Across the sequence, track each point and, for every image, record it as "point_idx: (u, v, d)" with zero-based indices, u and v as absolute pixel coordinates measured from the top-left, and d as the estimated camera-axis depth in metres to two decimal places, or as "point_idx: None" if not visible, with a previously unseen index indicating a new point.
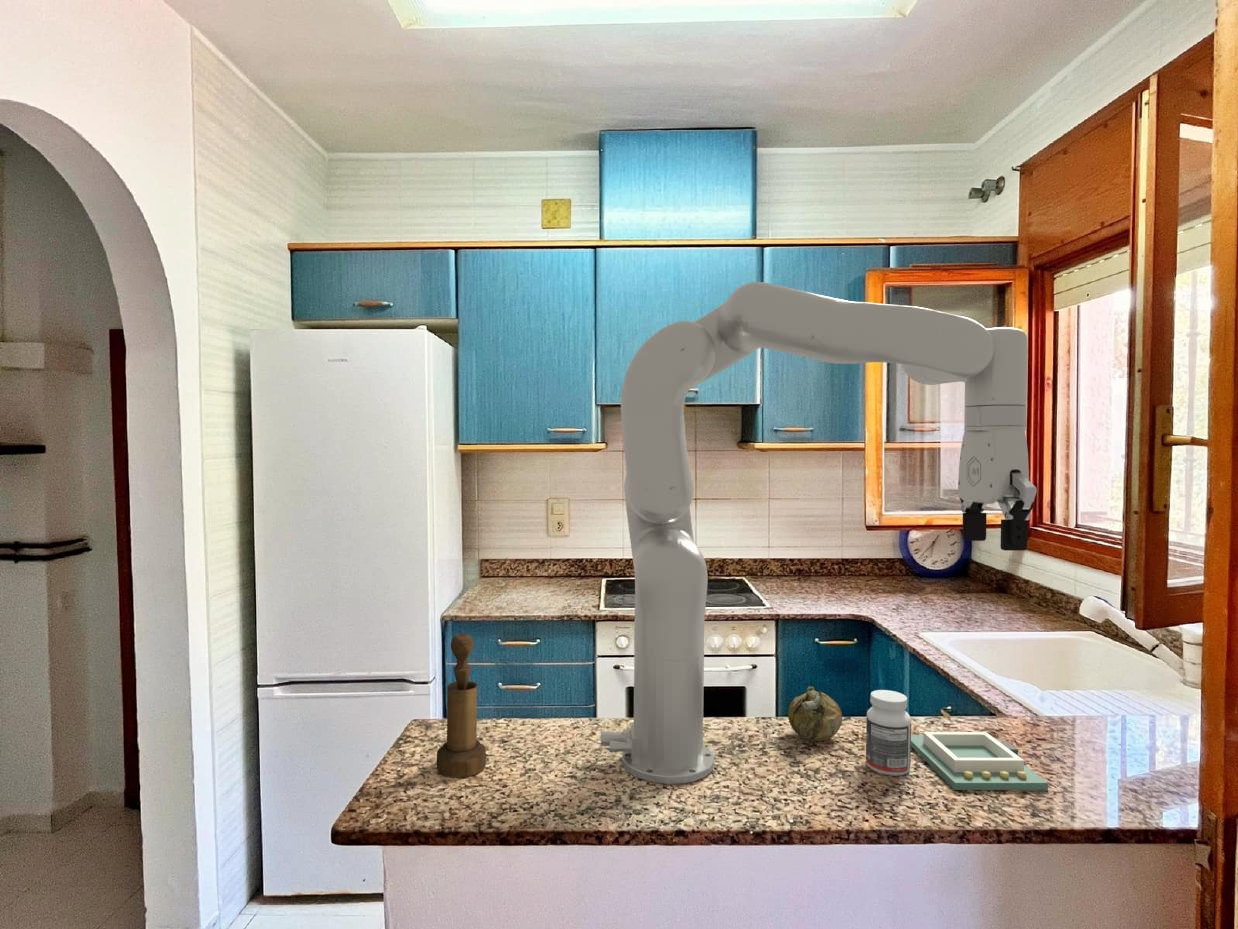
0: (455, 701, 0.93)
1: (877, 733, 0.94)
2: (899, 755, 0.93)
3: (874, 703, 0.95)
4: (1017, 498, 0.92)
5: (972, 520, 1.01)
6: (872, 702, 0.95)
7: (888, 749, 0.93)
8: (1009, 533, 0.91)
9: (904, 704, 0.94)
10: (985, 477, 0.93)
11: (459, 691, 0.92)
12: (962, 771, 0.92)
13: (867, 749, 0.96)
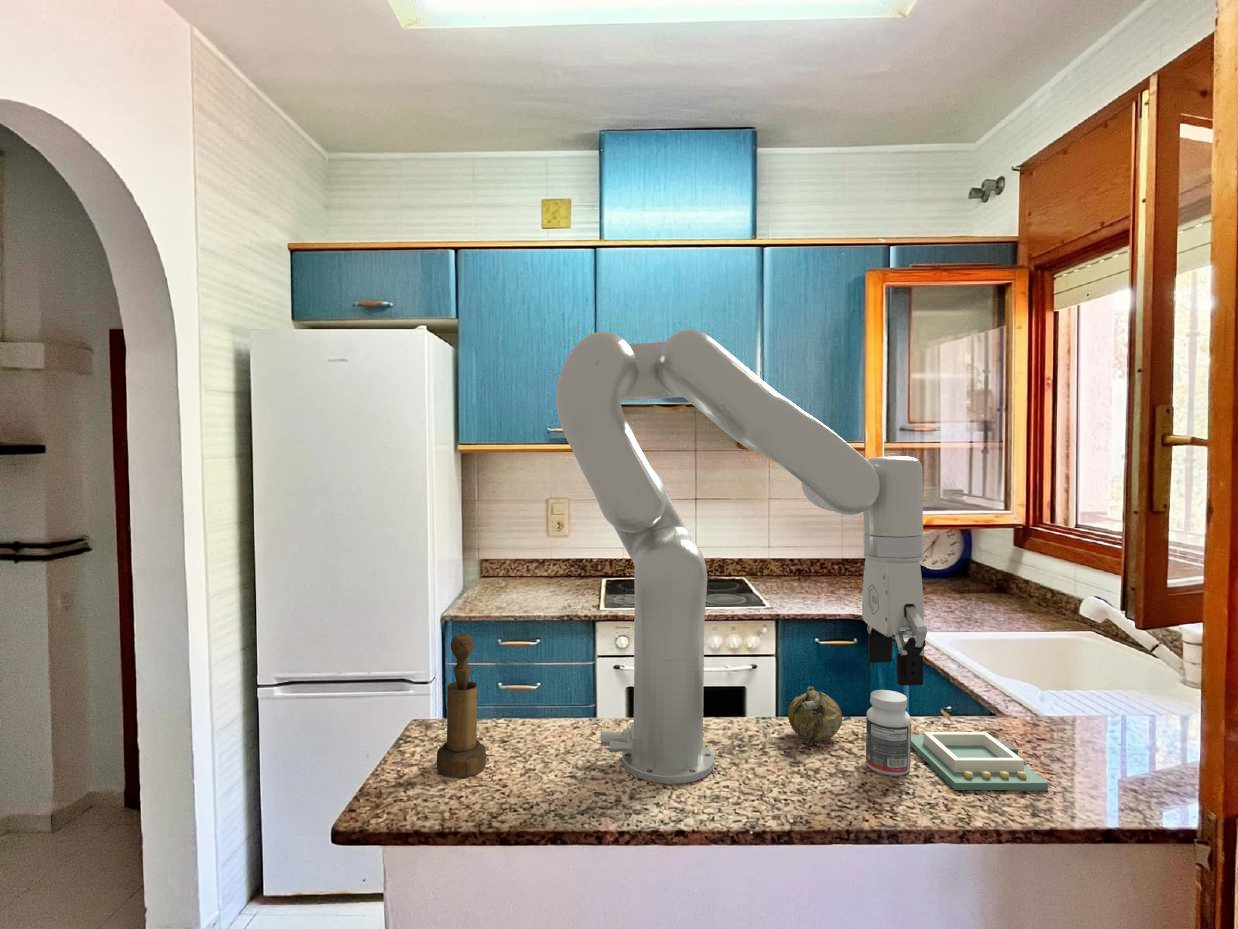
0: (455, 701, 0.93)
1: (877, 733, 0.94)
2: (899, 755, 0.93)
3: (874, 703, 0.95)
4: None
5: (877, 642, 1.00)
6: (872, 702, 0.95)
7: (888, 749, 0.93)
8: (905, 668, 0.90)
9: (904, 704, 0.94)
10: (881, 609, 0.92)
11: (459, 691, 0.92)
12: (962, 771, 0.92)
13: (867, 749, 0.96)
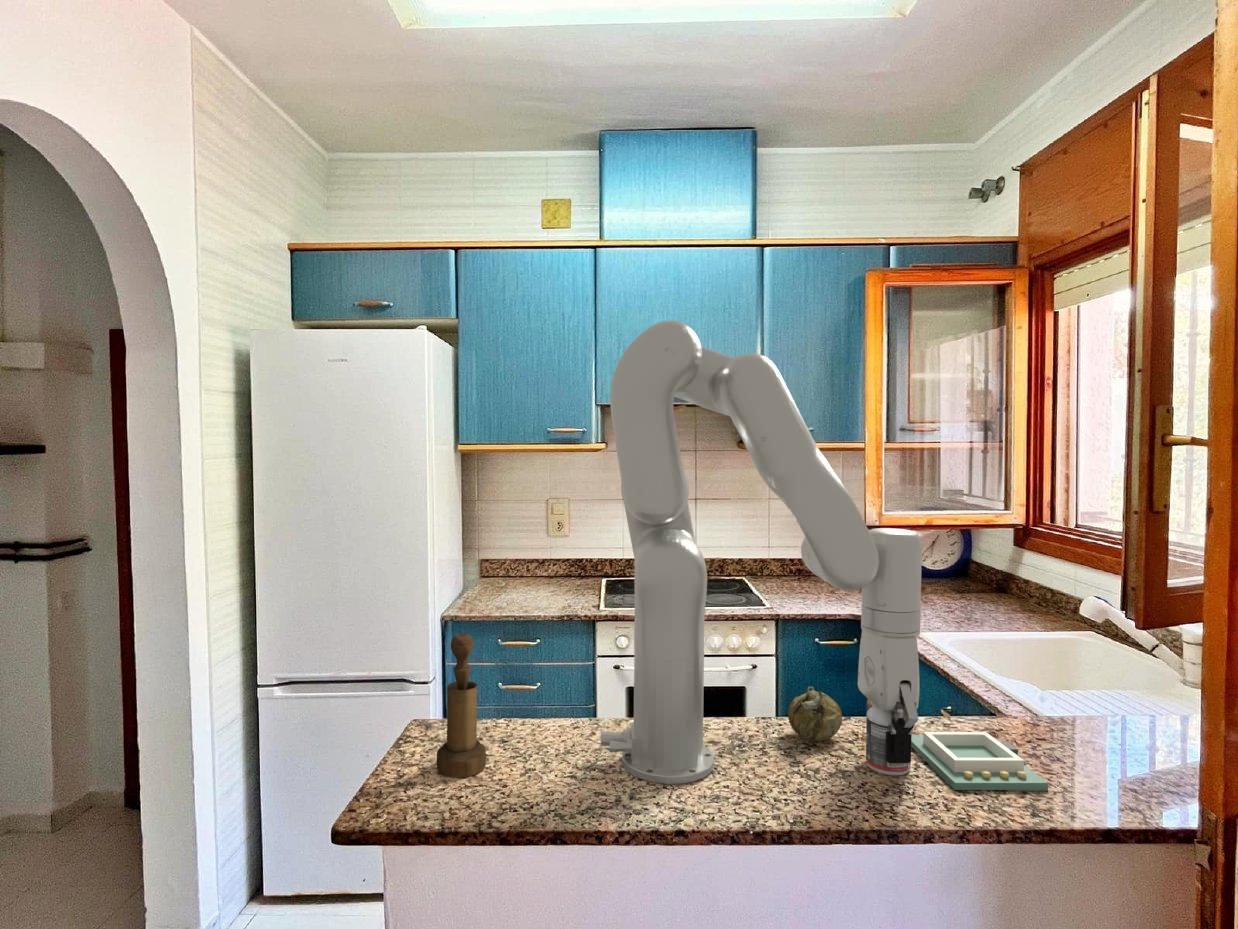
0: (455, 701, 0.93)
1: (877, 732, 0.94)
2: None
3: None
4: None
5: None
6: None
7: None
8: (893, 746, 0.92)
9: None
10: (877, 683, 0.92)
11: (459, 691, 0.92)
12: (962, 771, 0.92)
13: (867, 749, 0.96)
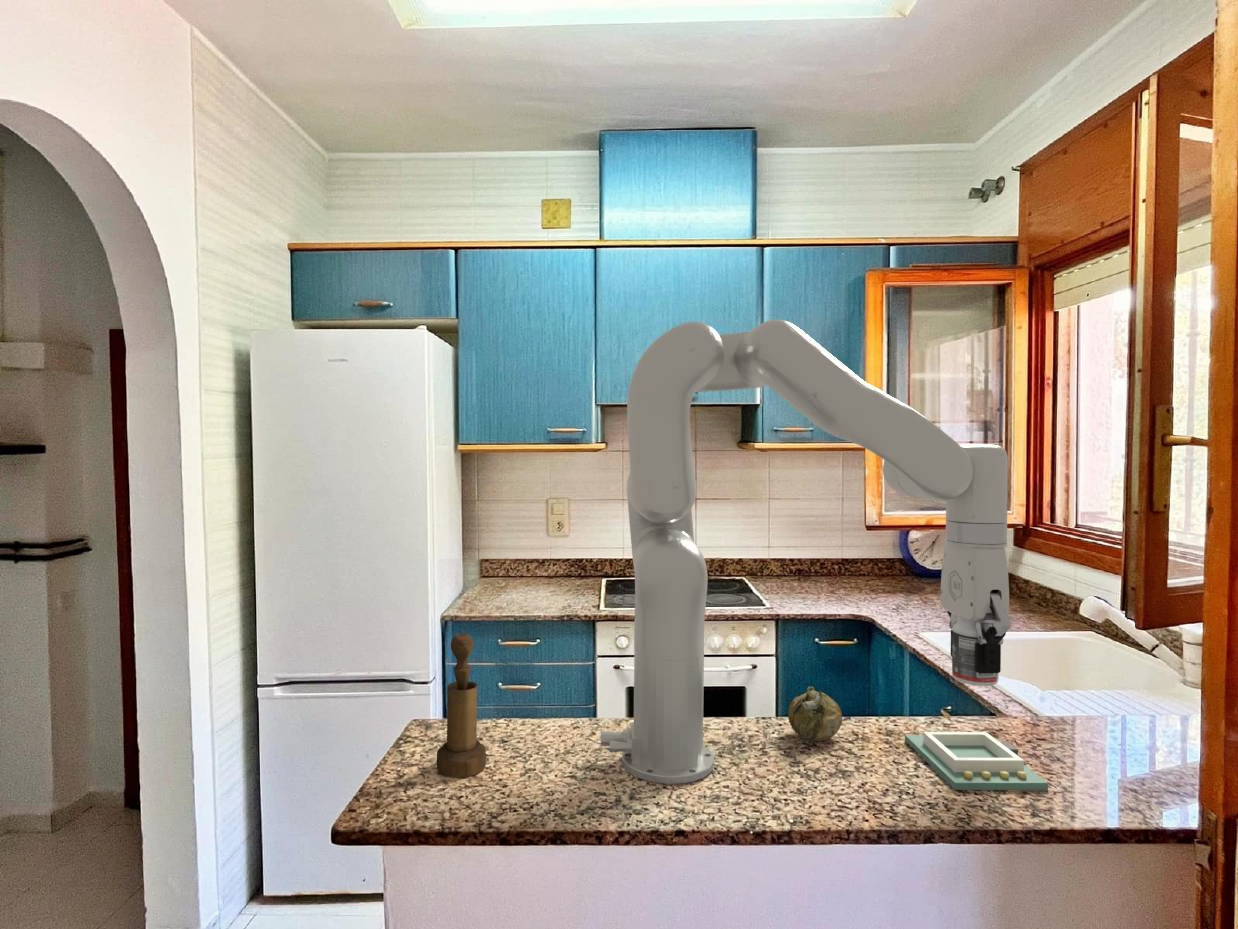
0: (455, 701, 0.93)
1: (965, 644, 0.95)
2: None
3: None
4: (994, 621, 0.93)
5: None
6: None
7: None
8: (983, 656, 0.93)
9: None
10: (966, 594, 0.93)
11: (459, 691, 0.92)
12: (962, 771, 0.92)
13: (954, 662, 0.97)
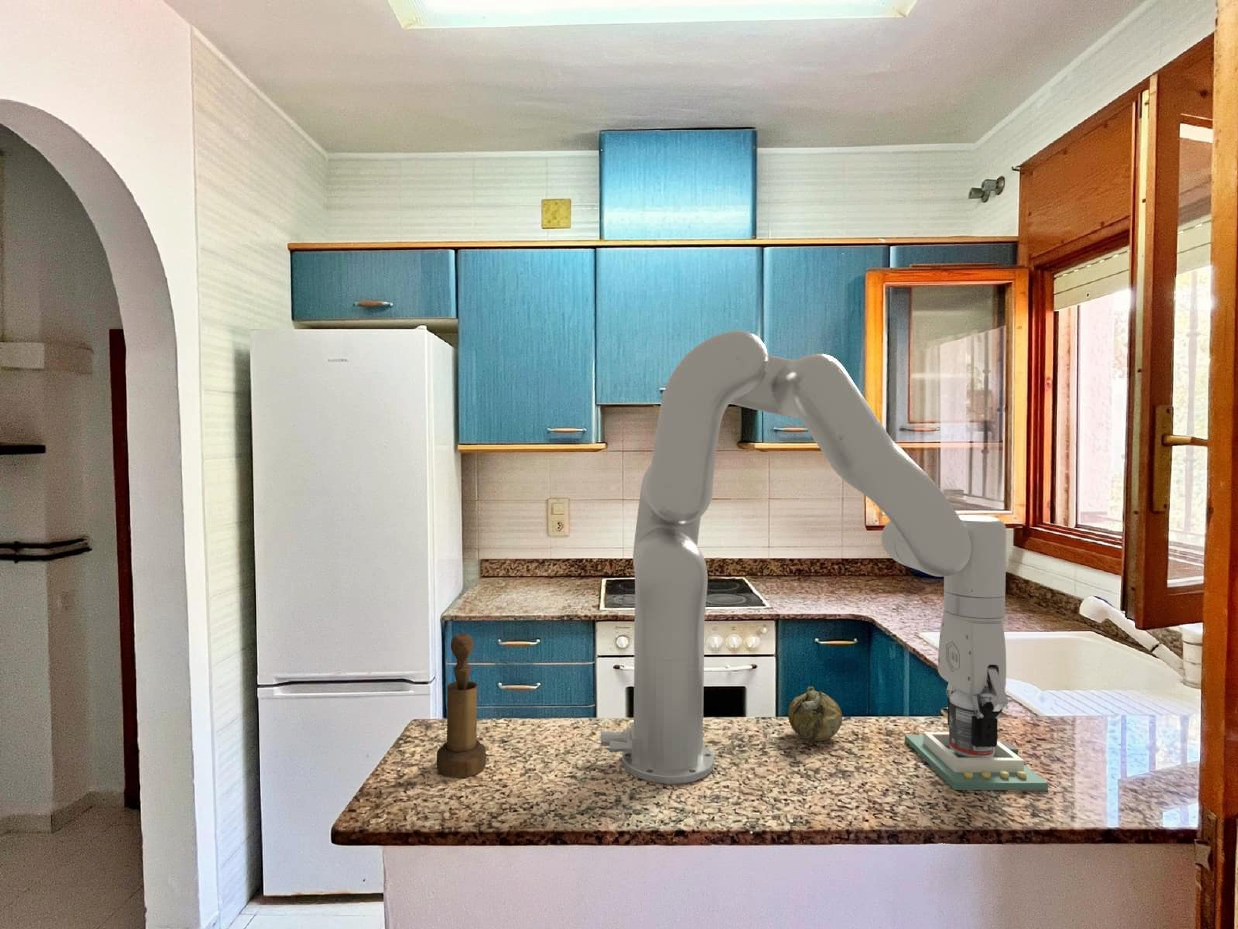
0: (455, 701, 0.93)
1: (962, 716, 0.95)
2: None
3: None
4: (991, 695, 0.93)
5: None
6: None
7: None
8: (980, 730, 0.93)
9: None
10: (963, 668, 0.94)
11: (459, 691, 0.92)
12: (962, 771, 0.92)
13: (951, 733, 0.97)
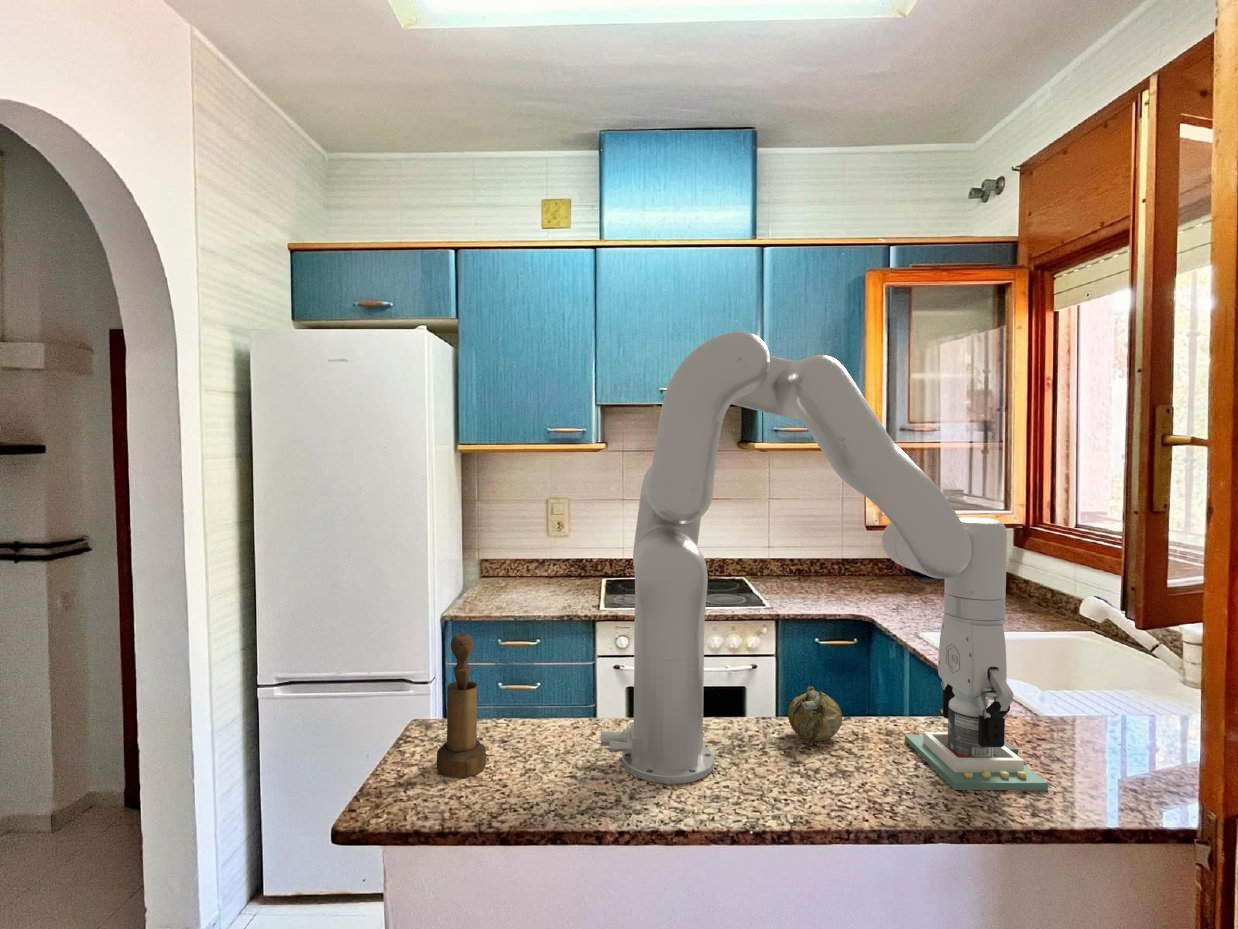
0: (455, 701, 0.93)
1: (961, 722, 0.95)
2: None
3: (958, 693, 0.96)
4: (995, 694, 0.92)
5: None
6: (955, 692, 0.96)
7: (973, 738, 0.94)
8: (987, 730, 0.91)
9: None
10: (963, 670, 0.94)
11: (459, 691, 0.92)
12: (962, 771, 0.92)
13: (950, 739, 0.97)
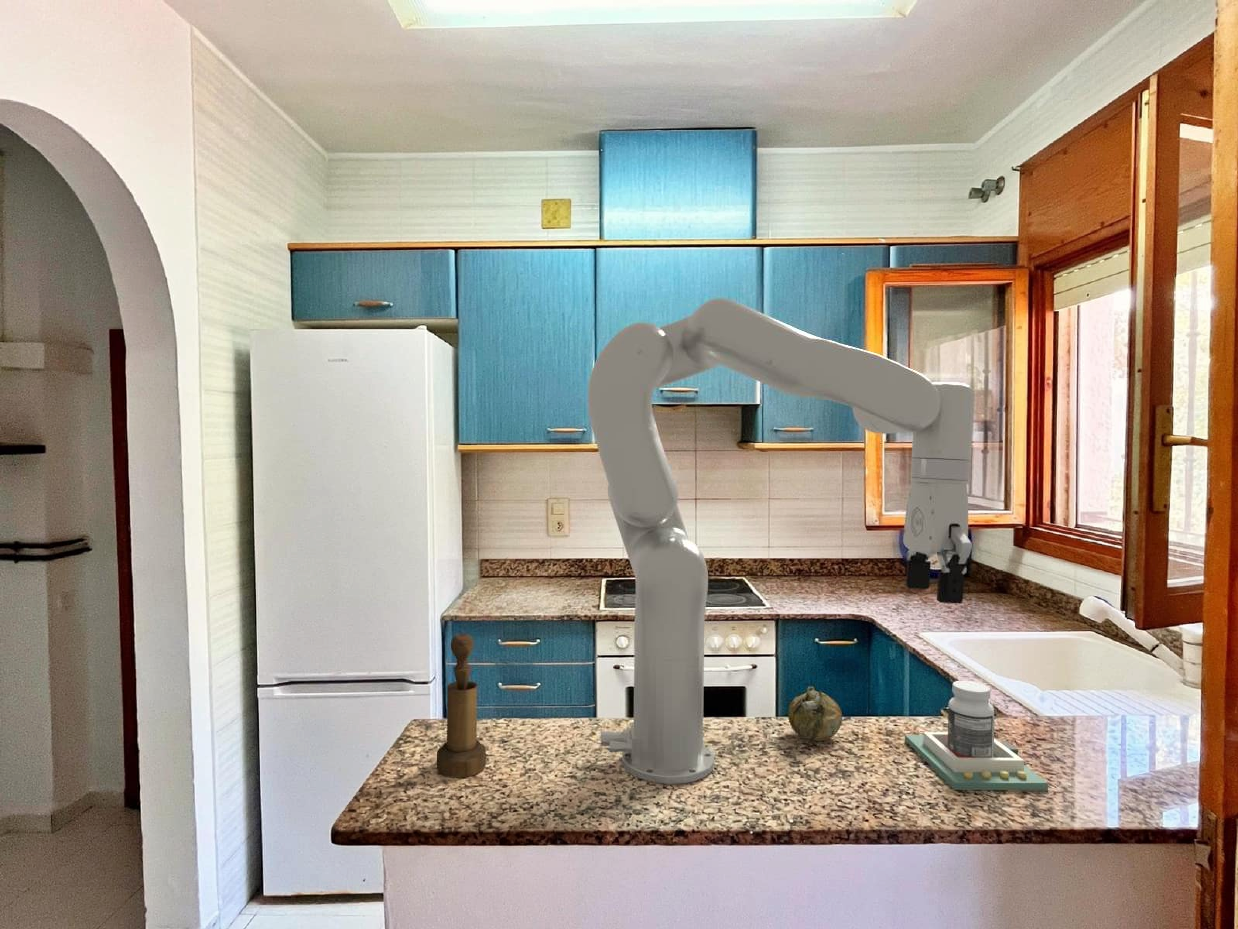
0: (455, 701, 0.93)
1: (961, 722, 0.95)
2: (983, 744, 0.94)
3: (957, 693, 0.96)
4: (955, 551, 0.93)
5: (916, 568, 1.02)
6: (955, 692, 0.96)
7: (973, 738, 0.94)
8: (946, 585, 0.92)
9: (988, 694, 0.95)
10: (926, 529, 0.95)
11: (459, 691, 0.92)
12: (962, 771, 0.92)
13: (950, 739, 0.97)
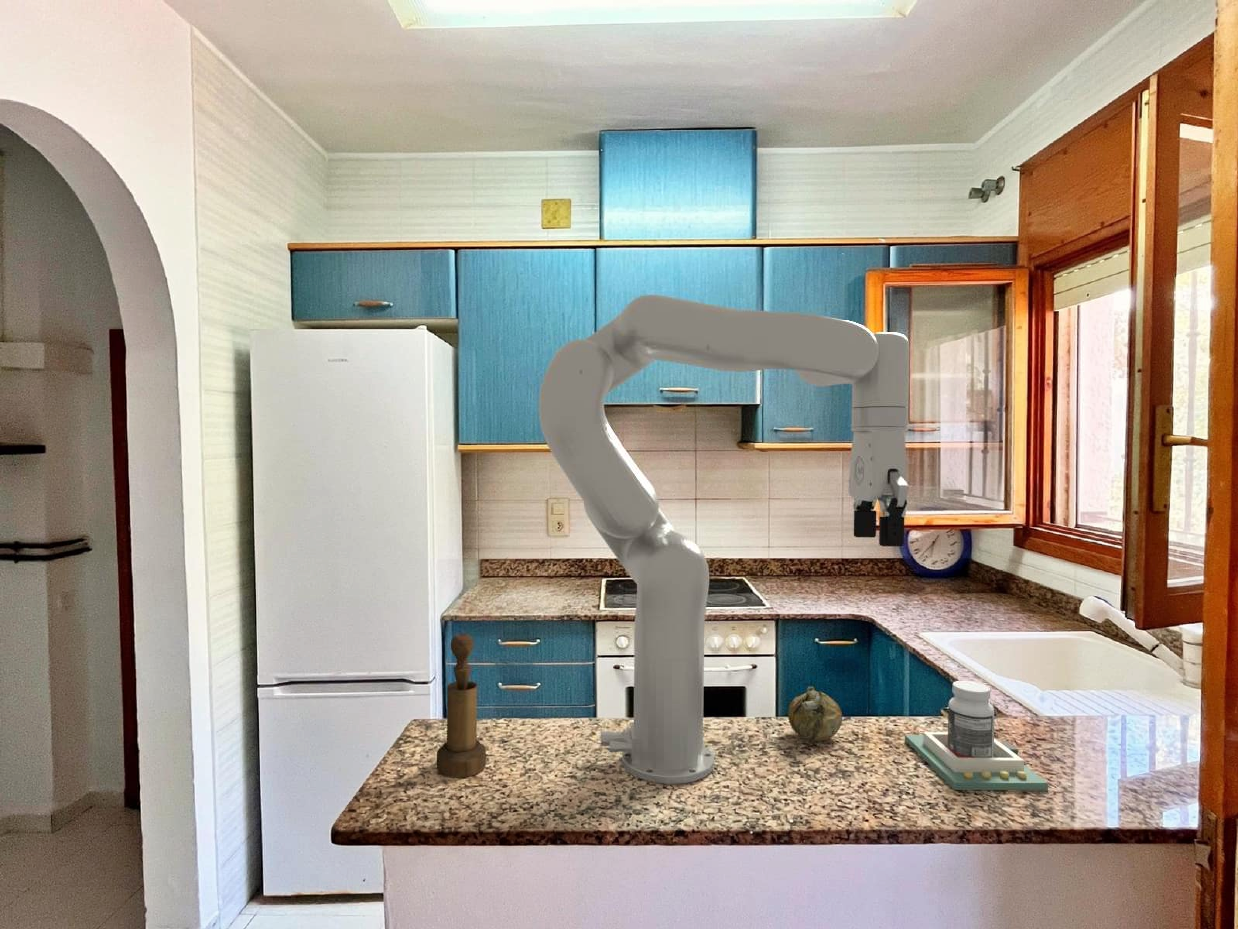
0: (455, 701, 0.93)
1: (961, 722, 0.95)
2: (983, 745, 0.94)
3: (957, 693, 0.96)
4: None
5: (862, 517, 1.04)
6: (955, 692, 0.96)
7: (973, 738, 0.94)
8: (887, 529, 0.95)
9: (988, 694, 0.95)
10: (866, 476, 0.97)
11: (459, 691, 0.92)
12: (962, 771, 0.92)
13: (950, 739, 0.97)
